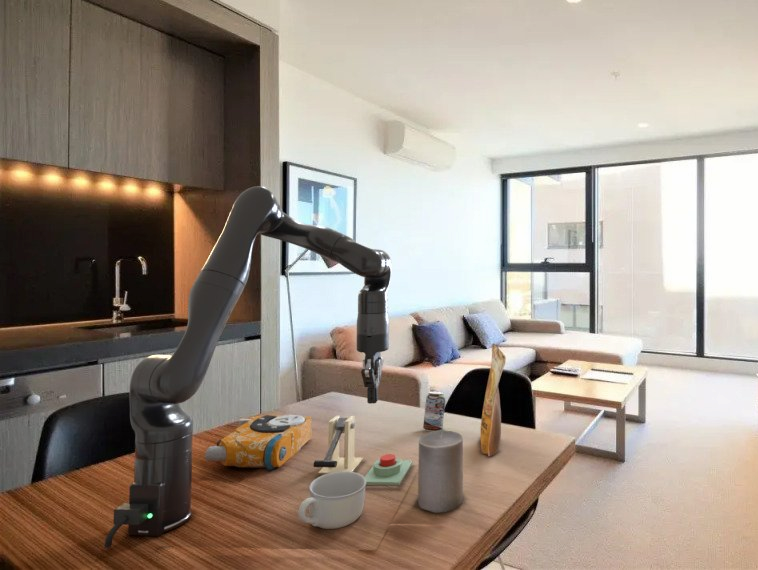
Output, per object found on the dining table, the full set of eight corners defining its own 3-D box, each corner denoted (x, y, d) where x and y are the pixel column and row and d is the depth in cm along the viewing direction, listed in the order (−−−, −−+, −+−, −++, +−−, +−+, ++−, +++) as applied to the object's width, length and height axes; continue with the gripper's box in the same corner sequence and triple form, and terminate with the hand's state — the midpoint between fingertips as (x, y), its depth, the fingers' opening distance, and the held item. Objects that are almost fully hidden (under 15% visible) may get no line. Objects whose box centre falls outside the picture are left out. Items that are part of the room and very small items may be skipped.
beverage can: (419, 433, 140) (419, 394, 140) (430, 425, 147) (430, 388, 147) (438, 435, 138) (438, 396, 138) (448, 427, 145) (448, 389, 145)
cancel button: (392, 467, 109) (392, 460, 109) (378, 467, 109) (378, 460, 109) (397, 461, 112) (397, 454, 112) (382, 461, 113) (382, 453, 113)
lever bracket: (350, 477, 110) (351, 424, 111) (317, 477, 111) (318, 424, 111) (363, 462, 119) (364, 412, 120) (333, 461, 120) (334, 412, 120)
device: (184, 443, 111) (253, 405, 141) (183, 477, 111) (252, 432, 141) (277, 442, 111) (326, 405, 141) (277, 476, 111) (325, 432, 141)
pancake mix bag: (502, 432, 141) (502, 342, 142) (505, 458, 122) (506, 353, 123) (480, 433, 140) (480, 342, 141) (480, 459, 121) (481, 353, 122)
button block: (399, 489, 104) (399, 474, 105) (360, 489, 105) (360, 473, 105) (412, 466, 116) (412, 453, 117) (377, 466, 117) (377, 452, 117)
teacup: (347, 502, 99) (348, 465, 99) (376, 520, 92) (377, 480, 92) (281, 531, 88) (282, 489, 88) (309, 554, 81) (309, 508, 81)
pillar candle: (457, 488, 105) (458, 422, 106) (466, 509, 96) (467, 437, 96) (415, 494, 102) (416, 427, 103) (420, 517, 93) (421, 442, 94)
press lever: (335, 470, 106) (333, 463, 104) (314, 469, 106) (312, 463, 105) (354, 424, 117) (352, 417, 116) (335, 424, 117) (333, 417, 116)
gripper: (363, 327, 117) (363, 395, 116) (349, 335, 104) (349, 411, 103) (393, 327, 117) (393, 394, 117) (383, 335, 104) (382, 411, 104)
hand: (372, 402), depth 110 cm, fingers closed
